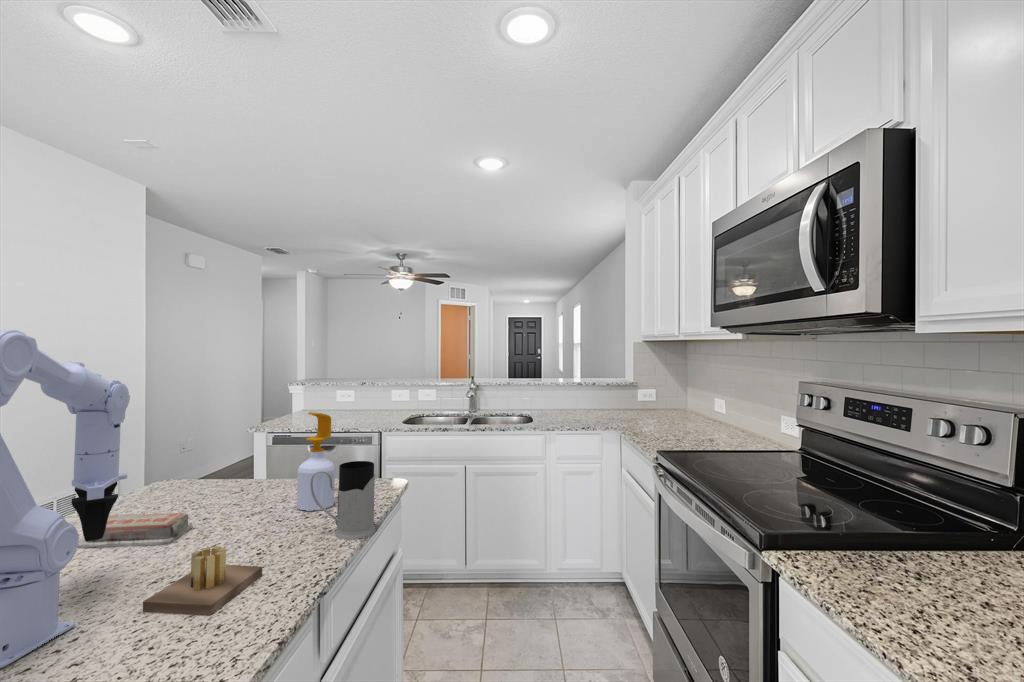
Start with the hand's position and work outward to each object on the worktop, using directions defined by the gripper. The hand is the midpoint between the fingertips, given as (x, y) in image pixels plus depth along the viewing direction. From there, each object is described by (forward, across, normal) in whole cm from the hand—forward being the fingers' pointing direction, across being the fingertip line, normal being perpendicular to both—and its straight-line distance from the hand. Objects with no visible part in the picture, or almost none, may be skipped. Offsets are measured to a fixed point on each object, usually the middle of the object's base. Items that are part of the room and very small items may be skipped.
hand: (94, 532), depth 79 cm
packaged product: (+10, +23, -7) cm, 26 cm away
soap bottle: (+10, +20, -43) cm, 49 cm away
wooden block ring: (+8, -13, -14) cm, 21 cm away
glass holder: (+10, -2, -42) cm, 43 cm away
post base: (+9, -13, -14) cm, 22 cm away
